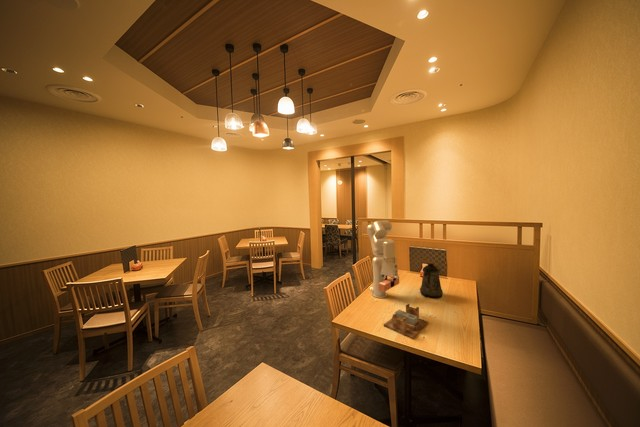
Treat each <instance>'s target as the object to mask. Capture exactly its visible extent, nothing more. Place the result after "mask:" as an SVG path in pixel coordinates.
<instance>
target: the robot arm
mask: <svg viewBox="0 0 640 427" xmlns="http://www.w3.org/2000/svg"><path fill="white" fill-rule="evenodd" d="M390 231H392V223H391V222H390V221H389V220H376V221H374V222H373V223H371V224H369V225H367V226H366V233H367V236H368V239H369V240H370V244H371V245H370V246H371V250H372V254H373V255H374V257H373V258H372V259H371V264H372V270H373V272H372V273H373V275H372V278H373V284H372V286H370V287H369V291H371V296H372V297H374V298H378V299H385V298H387V297H388V292H387V291H385V292H382V291H379V283H380V282H383V281H385V280H387V279H388V278H391V280H392V281H391V287H392V288H394V287H395V286H394V281H395V280H396V279H399V280H400V276H399V270H398V269H399V268H398V263H397V261H398V259H397V258H396V242H395V241H394V240H393V239H392V238H386V237H387V235H388V233H389V232H390ZM395 276H396V278H395Z"/></svg>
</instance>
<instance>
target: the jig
mask: <svg viewBox="0 0 640 427" xmlns="http://www.w3.org/2000/svg"><path fill="white" fill-rule="evenodd" d="M405 312H407V313H409V314H412V315H414V316H417V325H416V326H413V325H411V324H408V323H407V317H404V318H403V319H402V318H400V317H397V314H396V313H395V312H394V313H393V314H392V316H391V318H390V319H389V320H387V321H386V322H385V323H383V327H384V328H387V329H390V330H391V331H393V332H396V333H398V334H401V335H402V336H405V337H407V338H409V339H411V340H413V339H415V338H416V336H417V335H419V334H420V333H421V332H422V331H423V330H424V329H425V328H426V327H427V325H429V321H427V320H425V319H422V318H420V307H419V306H416V307H412V306H410V303H407V304H405Z"/></svg>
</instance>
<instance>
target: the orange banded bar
mask: <svg viewBox="0 0 640 427" xmlns="http://www.w3.org/2000/svg"><path fill="white" fill-rule="evenodd" d="M395 278H396V276H395ZM391 281H392V280H391V277H388V278H387V280H385V281H383V282H380V283H379V291H382V292H385V291H386V292H388V290H390V289H392V288H393V287H391ZM399 284H400V278H399V279H396V280H395V281H394V287H396V286H397V285H399Z"/></svg>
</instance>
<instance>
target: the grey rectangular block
mask: <svg viewBox="0 0 640 427" xmlns="http://www.w3.org/2000/svg"><path fill="white" fill-rule="evenodd" d="M395 313H396V314H397V317H400V318H402V319H403V318H404V317H407V323H408V324H411V325H413V326H416V325H417V316H414V315H412V314H409V313H407V312H406V311H405V310H402V309H398V310H396V311H395V312H394V314H395Z"/></svg>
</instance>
